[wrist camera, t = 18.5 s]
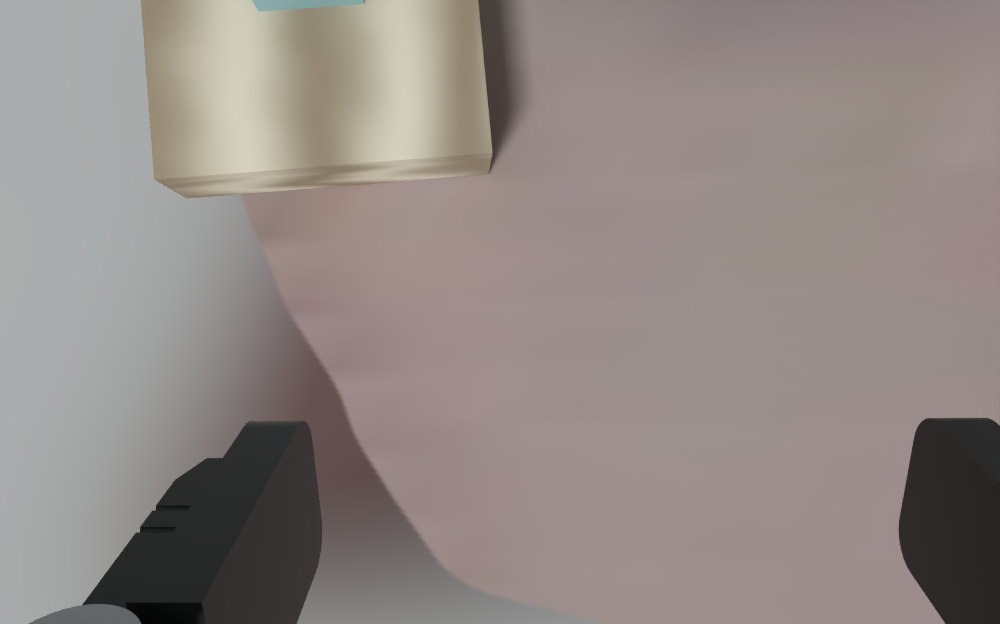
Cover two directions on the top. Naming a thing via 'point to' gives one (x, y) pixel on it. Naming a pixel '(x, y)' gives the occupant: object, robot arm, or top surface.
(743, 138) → the top surface
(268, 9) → the teal block
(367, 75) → the birch plinth
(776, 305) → the top surface
